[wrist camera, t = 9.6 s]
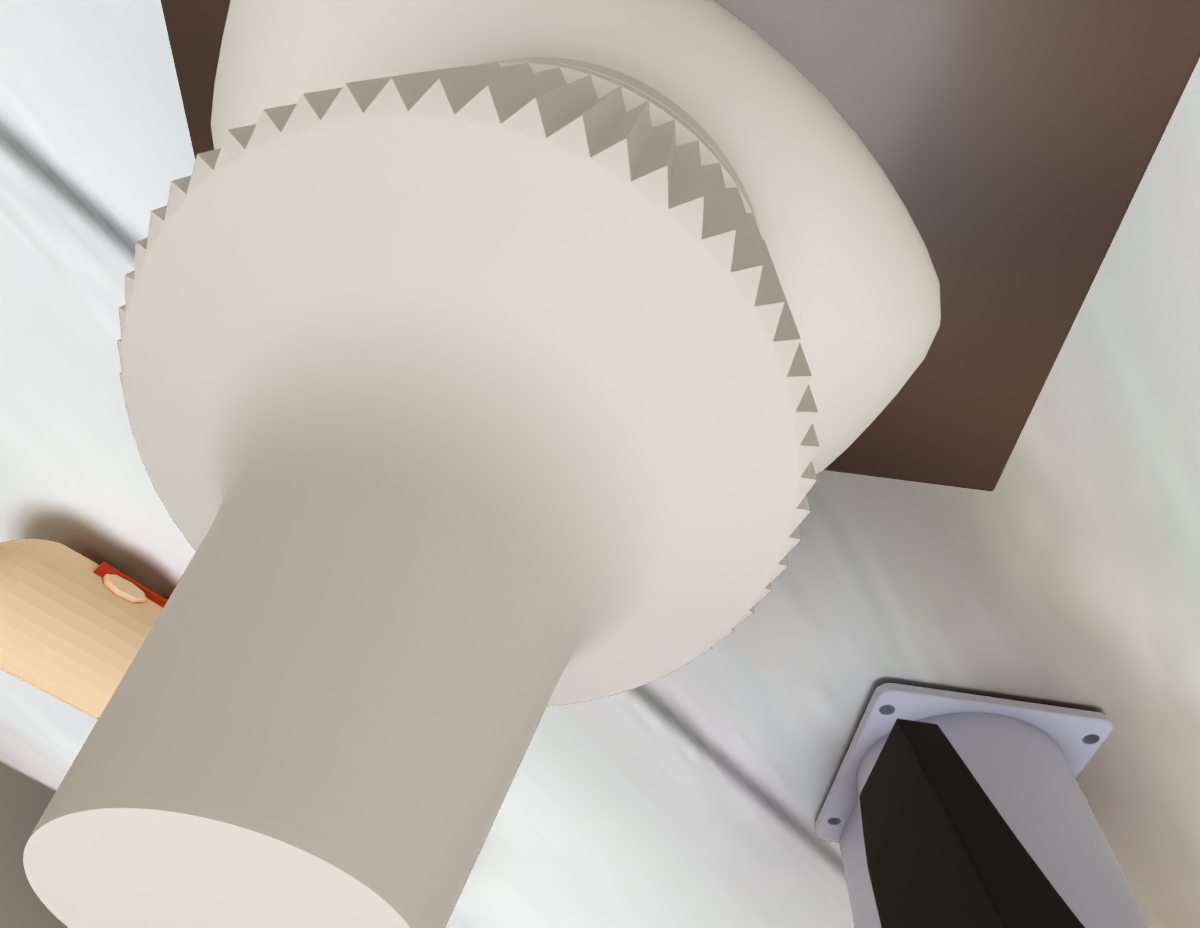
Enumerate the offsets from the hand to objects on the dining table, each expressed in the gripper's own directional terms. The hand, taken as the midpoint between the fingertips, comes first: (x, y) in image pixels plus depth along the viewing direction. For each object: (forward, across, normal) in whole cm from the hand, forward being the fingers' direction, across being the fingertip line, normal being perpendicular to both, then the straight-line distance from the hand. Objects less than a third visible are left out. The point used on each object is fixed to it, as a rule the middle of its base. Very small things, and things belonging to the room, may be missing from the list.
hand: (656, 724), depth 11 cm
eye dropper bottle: (+6, +2, -8) cm, 10 cm away
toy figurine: (+10, +18, +11) cm, 23 cm away
